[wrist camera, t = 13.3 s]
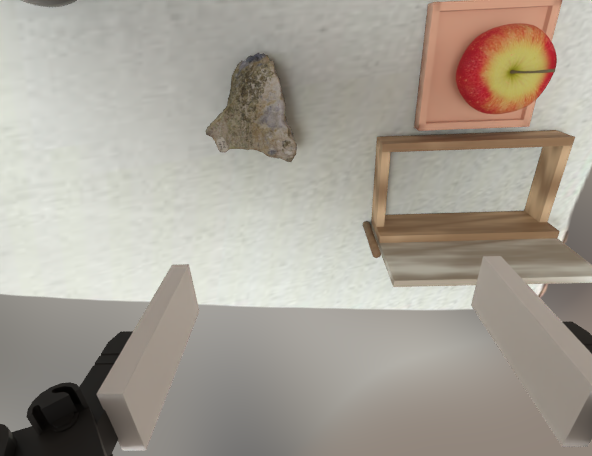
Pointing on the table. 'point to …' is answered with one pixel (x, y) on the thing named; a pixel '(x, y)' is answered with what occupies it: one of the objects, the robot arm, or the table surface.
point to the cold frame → (475, 220)
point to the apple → (506, 68)
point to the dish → (450, 48)
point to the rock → (255, 112)
